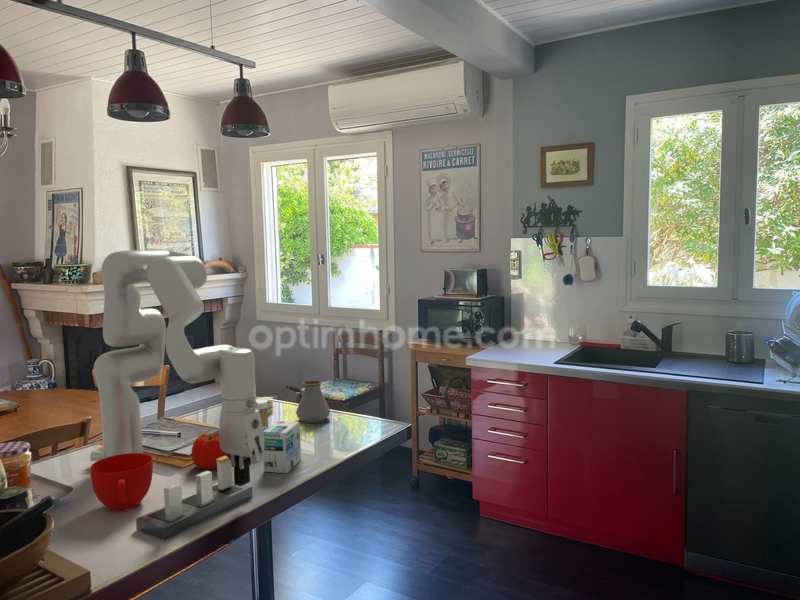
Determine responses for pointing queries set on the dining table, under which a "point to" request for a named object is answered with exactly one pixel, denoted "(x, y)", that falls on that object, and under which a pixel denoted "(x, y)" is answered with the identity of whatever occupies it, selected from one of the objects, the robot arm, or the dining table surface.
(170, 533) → the breaker panel
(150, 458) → the ceramic cup
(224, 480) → the handle
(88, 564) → the dining table surface
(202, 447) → the tomato
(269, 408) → the stacked layers on plate
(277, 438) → the light bulb box
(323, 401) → the coffee pot
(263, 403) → the sprinkles bottle
